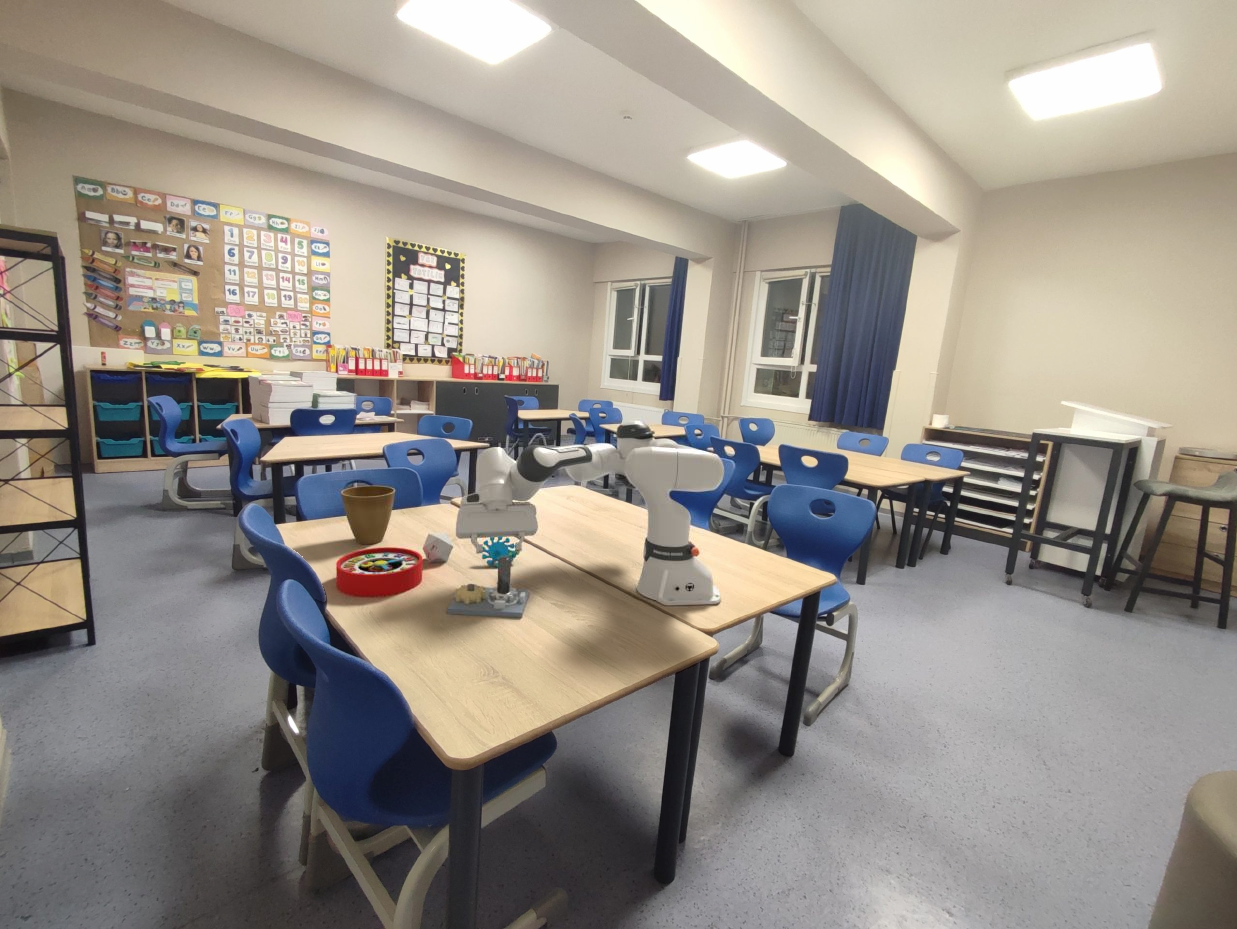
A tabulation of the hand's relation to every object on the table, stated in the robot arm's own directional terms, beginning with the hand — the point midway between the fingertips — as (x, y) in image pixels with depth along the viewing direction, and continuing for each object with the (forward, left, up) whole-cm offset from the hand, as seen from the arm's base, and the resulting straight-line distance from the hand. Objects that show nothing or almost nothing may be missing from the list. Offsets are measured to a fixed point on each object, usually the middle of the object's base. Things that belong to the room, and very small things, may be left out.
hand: (499, 551), depth 130 cm
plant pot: (+46, -35, -12) cm, 59 cm away
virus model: (+4, -22, -12) cm, 26 cm away
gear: (-2, +4, -10) cm, 11 cm away
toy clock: (+31, -5, -12) cm, 33 cm away
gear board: (+1, +4, -12) cm, 12 cm away
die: (+21, -22, -12) cm, 33 cm away
